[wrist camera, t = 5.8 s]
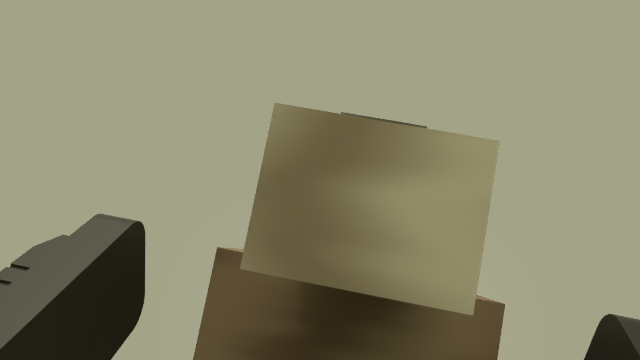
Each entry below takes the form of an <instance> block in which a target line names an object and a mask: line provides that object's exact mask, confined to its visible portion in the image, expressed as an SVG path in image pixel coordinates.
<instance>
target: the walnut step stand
mask: <svg viewBox="0 0 640 360" xmlns="http://www.w3.org/2000/svg"><path fill="white" fill-rule="evenodd" d="M243 252H244V249H234V248H220V247H217V251H216V256H215V261H214V265H213V270H212V275H211V279H210V284H209V288H208V293H207V298H206V302H205V307H204V312H203V316H202V321H201V325H200V330H199V335H198V340H197V344H196V349H195V353H194V358H193V360H497V356H498V350H499V343H500V336H501V328H502V322H503V316H504V309H505V304H503V303H500V302H497V301H494V300H490V299H487V298H484V297H481V296H478V295H476V300H475V306H474V313H473V316H472V315H467V314H462V313H457V312H452V311H447V310H442V309H437V308H432V307H427V306H422V305H417V304H413V303H408V302H403V301H398V300H393V299H388V298H383V297H378V296H373V295H368V294H363V293H358V292H353V291H348V290H343V289H338V288H333V287H328V286H323V285H318V284H313V283H308V282H303V281H298V280H293V279H288V278H283V277H278V276H273V275H268V274H263V273H258V272H253V271H248V270H243V269H240V266H241V261H242V256H243Z"/></svg>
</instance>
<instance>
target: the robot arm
mask: <svg viewBox="0 0 640 360" xmlns="http://www.w3.org/2000/svg"><path fill="white" fill-rule="evenodd" d="M144 297H145V229H144V226H143V224H142V223H141V222H140V221H135V220H130V219H125V218H120V217H114V216H109V215H104V214H97V215H95V216H94V217H93V218H91V219H90V220H89V221H87V222H86V223H85V224H84V225H83V226H81V227H80V228H79V229H78V230H76V231H75V232H74V233H73V234H71V235H70V236H66V235H61V236H59V237H56V238H54V239H52V240H49V241H46V242H44V243H41V244H39V245H36V246H34V247H32V248H31V249H30V250H28V251H27V252H26V253H25V254H23V255H22V256H20V257H19V258H18V259H16V260H15V261H14V262H12V263H11V266H10V268H9V267H6V268H5V269H3V270H2V271H1V272H0V360H111V359H112V357H113V356H114V355H115V353H116V352H117V351H118V349H119V348H120V347H121V345H122V344H123V343H124V341H125V340H126V339H127V337H128V336H129V335H130V333H131V332H132V331H133V329H134V328H135V326H136V324H137V322H138V320H139V317H140V315H141V311H142V308H143V304H144ZM584 360H640V320H638V319H633V318H628V317H623V316H618V315H613V314H608V315H606V316H604V317H603V318H602V319H601V321H600V323H599V325H598V327H597V329H596V332H595V334H594V336H593V339H592V341H591V344H590V346H589V349H588V351H587V354H586V356H585V358H584Z"/></svg>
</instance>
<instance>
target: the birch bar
mask: <svg viewBox="0 0 640 360" xmlns="http://www.w3.org/2000/svg"><path fill="white" fill-rule="evenodd" d="M499 142H500V141H497V140H490V139H485V138H479V137H473V136H467V135H461V134H455V133H450V132H444V131H438V130H431V129H427V127H426V126H420V125H414V124H408V123H402V122H397V121H391V120H385V119H379V118H372V117H367V116H361V115H355V114H349V113H343V112H341V114H338V113H331V112H326V111H320V110H314V109H308V108H302V107H296V106H290V105H284V104H279V103H275V104H274V108H273V113H272V118H271V123H270V127H269V132H268V137H267V142H266V147H265V152H264V157H263V161H262V166H261V171H260V175H259V180H258V185H257V190H256V194H255V200H254V204H253V209H252V213H251V218H250V223H249V228H248V233H247V237H246V242H245V247H244V252H243V256H242V261H241V266H240V269H243V270H248V271H253V272H258V273H263V274H268V275H273V276H278V277H283V278H288V279H293V280H298V281H303V282H308V283H313V284H318V285H323V286H328V287H333V288H338V289H343V290H348V291H353V292H358V293H363V294H368V295H373V296H378V297H383V298H388V299H393V300H398V301H403V302H408V303H413V304H417V305H422V306H427V307H432V308H437V309H442V310H447V311H452V312H457V313H462V314H467V315H472V316H473V313H474V306H475V300H476V293H477V286H478V279H479V274H480V267H481V260H482V253H483V247H484V240H485V234H486V228H487V221H488V214H489V208H490V201H491V195H492V188H493V181H494V175H495V168H496V162H497V155H498V149H499Z"/></svg>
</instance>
